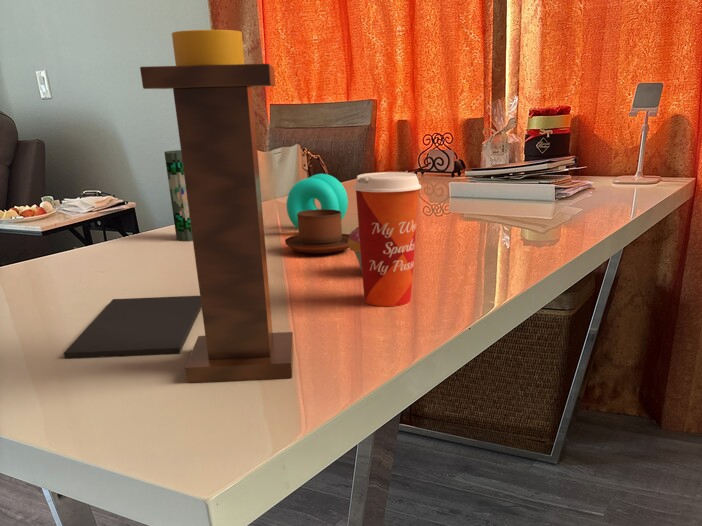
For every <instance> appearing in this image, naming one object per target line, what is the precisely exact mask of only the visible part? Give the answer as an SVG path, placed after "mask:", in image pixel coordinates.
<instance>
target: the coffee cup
mask: <svg viewBox="0 0 702 526" xmlns="http://www.w3.org/2000/svg"><path fill="white" fill-rule="evenodd" d="M352 189H353V190H354V191H355V194H356V195H355V196H356V211H357V223H358V227H359V238H360V251H361V265H362V271H361V274H362V276H361V277H362V286H363V287H362V288H363V296H364V302H365V303H366V304H367V305H371V306H375V307H376V306H377V307H397V306H403V305H407V304H408V303H410V302H411V297H412V289H413V276H414V262H415V251H416V235H417V222H418V221H417V220H418V219H417V218H418V205H419V190H420V189H422V185H421V184H420V181H419V178H418V176H417V174H416V173H413V172H403V171H384V172H368V173H361V174H358V175H356V181H355V185H353V188H352Z"/></svg>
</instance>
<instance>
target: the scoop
mask: <svg viewBox="0 0 702 526" xmlns="http://www.w3.org/2000/svg"><path fill="white" fill-rule="evenodd" d="M171 39H172V46H173V54H174V55H173V56H174V62H175V66H192V65H233V64H245V54H244V53H245V52H244V42H243V33H242V31H240V30H233V29H190V30H177V31H173V32H172V33H171Z"/></svg>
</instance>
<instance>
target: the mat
mask: <svg viewBox="0 0 702 526" xmlns="http://www.w3.org/2000/svg"><path fill="white" fill-rule="evenodd" d="M200 311H202V306H201V299H200V295H182V296H181V295H180V296H178V295H177V296H158V297H156V296H155V297H134V298H133V297H129V298H112V300H110V302H109V303H108V304H107V305H106V306H105V307H104V308H103V309H102V310H101V312H100V313H99V314H98V315H97V316H96V317H95V318H94V319H93V320H92V321H91V322H90V324H88V326H87V327H85V329H84V330H83V331H82V332H81V333H80V334H79V336H78V337H77V338H76V339H75V340H74V341H73V342H72V343H71V344H70V346H68V347H67V348H66V349H65V351H64V352H63V356H64V359H78V358H96V357H95V356H104V357H120V356H119V355H127V356H147V355H148V354H150V355H169V354H181V352H182V350H183V348H184V345H185V343H186V341H187V339H188V337H189V334H190V333H191V331H192V329H193V327H194V324H195V322H196V319H197V318H198V316H199V314H200ZM113 355H114V356H113ZM116 355H118V356H116ZM92 356H93V357H92ZM148 356H149V355H148Z"/></svg>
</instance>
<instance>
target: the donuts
mask: <svg viewBox="0 0 702 526" xmlns="http://www.w3.org/2000/svg"><path fill="white" fill-rule="evenodd" d="M348 199H349V198H348V194H347V190H346V189H345V187H344V185H343V184H342V182H341V181H340V180H338V178H337V177H335V176H332V175H330V174H327V173H317V174H313V175H311V176H309V177H306V178H303V179H301V180H299V181H298V182H296V183H294V185H293V186H292V187H291V188H290V190H289V192H288V194H287V198H286V211H287V215H288V218H289V221H290V222H291V224H292V225H293V226H294V227H295V228H296V229H297V230H298V217H297V213H298V212H301V211H307V210H319V208H318V207H317V205H316V201H315V200H317V202H319V205H320V209H329V210H338V211H341V221H342V220H343V219H344V218H345V216H346V214H347V211H348V206H349V200H348Z"/></svg>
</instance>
